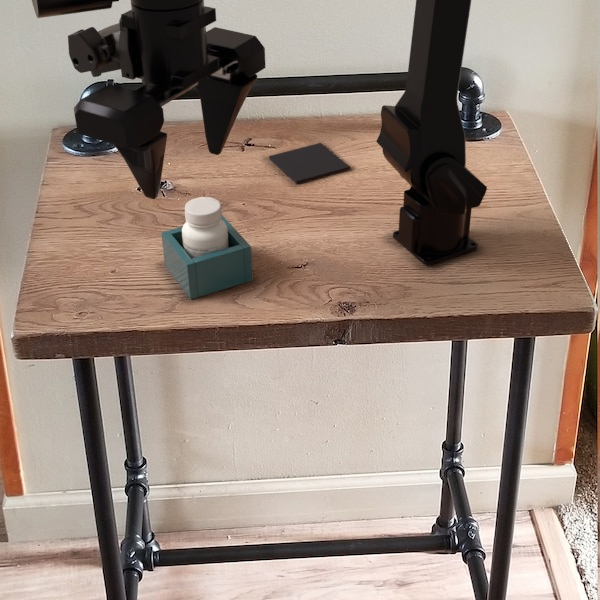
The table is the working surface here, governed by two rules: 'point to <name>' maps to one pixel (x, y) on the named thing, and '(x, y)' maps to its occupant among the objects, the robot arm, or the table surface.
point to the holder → (208, 264)
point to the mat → (309, 163)
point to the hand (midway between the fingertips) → (184, 174)
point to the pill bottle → (204, 227)
